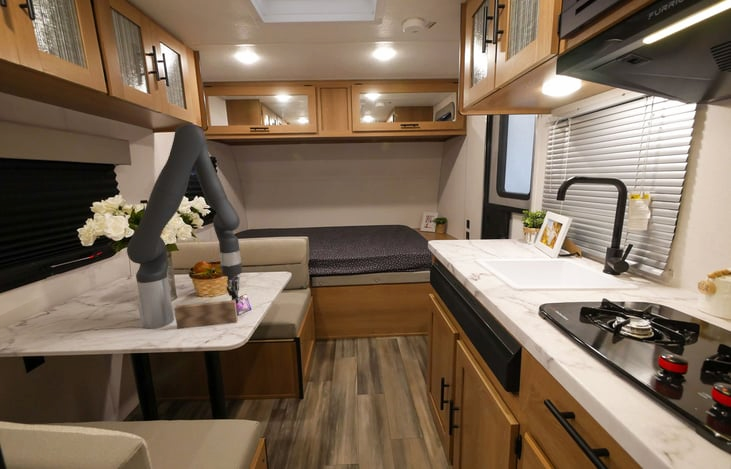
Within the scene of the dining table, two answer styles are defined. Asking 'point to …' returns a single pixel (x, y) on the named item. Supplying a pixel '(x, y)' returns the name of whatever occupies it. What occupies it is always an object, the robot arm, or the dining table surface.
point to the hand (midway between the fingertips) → (235, 303)
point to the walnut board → (206, 314)
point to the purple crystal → (240, 304)
